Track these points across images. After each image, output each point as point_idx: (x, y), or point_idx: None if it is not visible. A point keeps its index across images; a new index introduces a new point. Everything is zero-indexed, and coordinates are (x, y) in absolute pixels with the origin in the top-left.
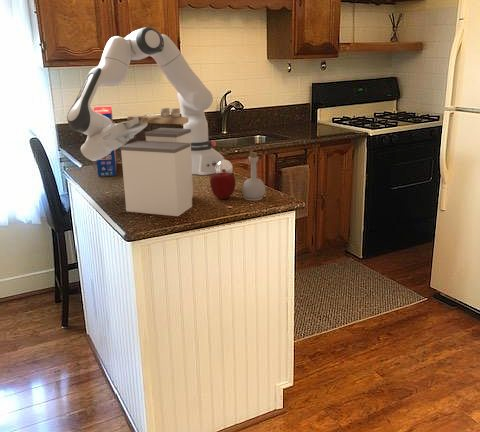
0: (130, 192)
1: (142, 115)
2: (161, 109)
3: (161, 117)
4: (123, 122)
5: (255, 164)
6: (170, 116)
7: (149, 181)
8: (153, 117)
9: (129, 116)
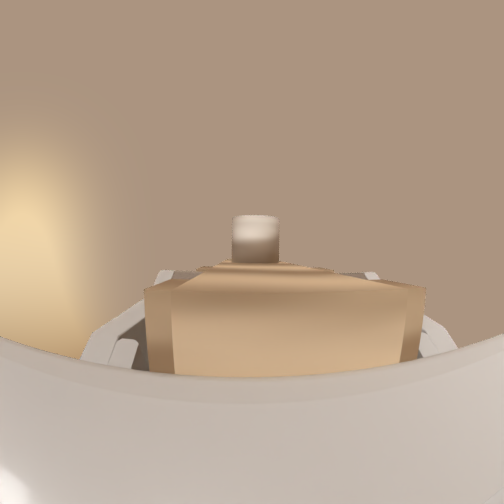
0: None
1: (206, 274)
2: (278, 220)
3: (279, 263)
4: (488, 340)
5: None
6: (228, 261)
7: None
8: (298, 265)
9: (382, 288)
